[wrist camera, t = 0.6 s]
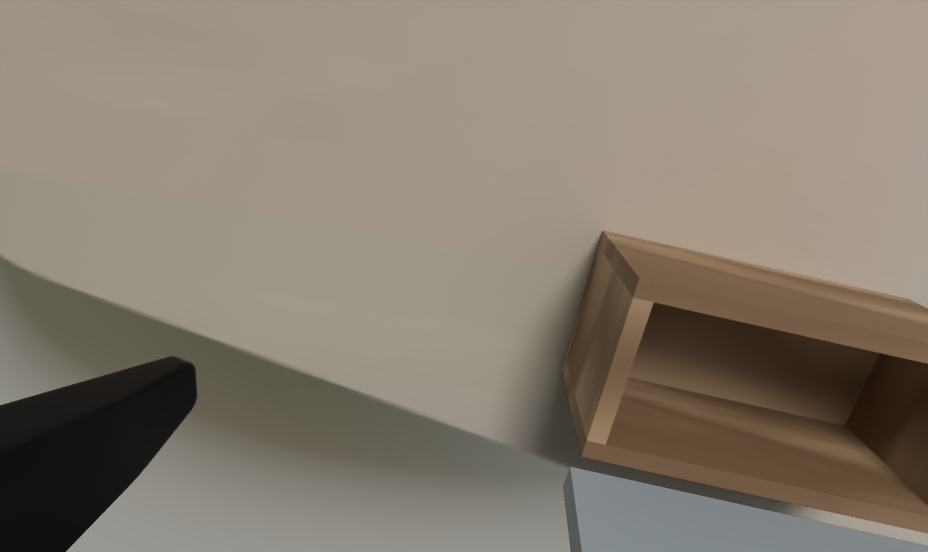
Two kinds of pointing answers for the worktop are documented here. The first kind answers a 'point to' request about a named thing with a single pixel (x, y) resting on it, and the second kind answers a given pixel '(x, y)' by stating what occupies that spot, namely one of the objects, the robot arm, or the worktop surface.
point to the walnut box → (752, 381)
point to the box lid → (695, 523)
